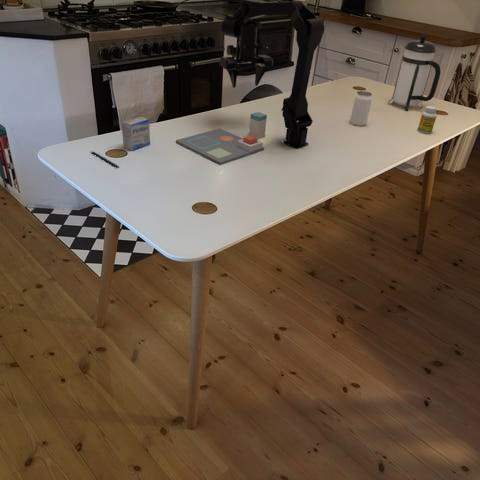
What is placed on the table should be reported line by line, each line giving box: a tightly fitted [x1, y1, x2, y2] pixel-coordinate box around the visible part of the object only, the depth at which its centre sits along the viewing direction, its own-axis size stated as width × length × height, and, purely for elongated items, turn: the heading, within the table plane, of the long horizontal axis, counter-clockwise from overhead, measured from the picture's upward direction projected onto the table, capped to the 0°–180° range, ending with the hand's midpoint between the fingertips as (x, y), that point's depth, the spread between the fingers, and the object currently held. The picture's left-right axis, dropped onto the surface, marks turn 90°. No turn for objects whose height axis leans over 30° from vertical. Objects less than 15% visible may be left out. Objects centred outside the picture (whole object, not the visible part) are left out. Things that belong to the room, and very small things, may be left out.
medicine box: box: [120, 116, 151, 152], centre depth 148 cm, size 8×4×9 cm, turn 143°
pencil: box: [90, 150, 120, 169], centre depth 140 cm, size 1×1×15 cm
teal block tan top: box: [248, 111, 268, 140], centre depth 163 cm, size 4×4×8 cm
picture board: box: [175, 127, 265, 166], centre depth 155 cm, size 22×20×3 cm
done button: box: [243, 134, 258, 145], centre depth 153 cm, size 3×3×2 cm
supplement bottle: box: [417, 105, 438, 135], centre depth 179 cm, size 5×5×10 cm
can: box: [349, 90, 373, 127], centre depth 181 cm, size 6×6×12 cm
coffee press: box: [388, 34, 441, 112], centre depth 199 cm, size 17×16×30 cm
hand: (245, 86), depth 167 cm, fingers open, 9 cm apart
